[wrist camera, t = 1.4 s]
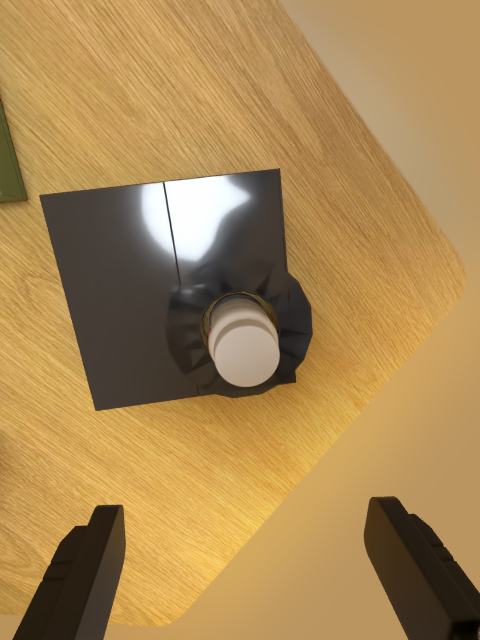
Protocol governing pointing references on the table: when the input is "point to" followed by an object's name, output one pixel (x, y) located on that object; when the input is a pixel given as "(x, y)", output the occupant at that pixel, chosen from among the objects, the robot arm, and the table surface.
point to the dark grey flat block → (172, 281)
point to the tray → (9, 167)
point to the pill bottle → (242, 341)
